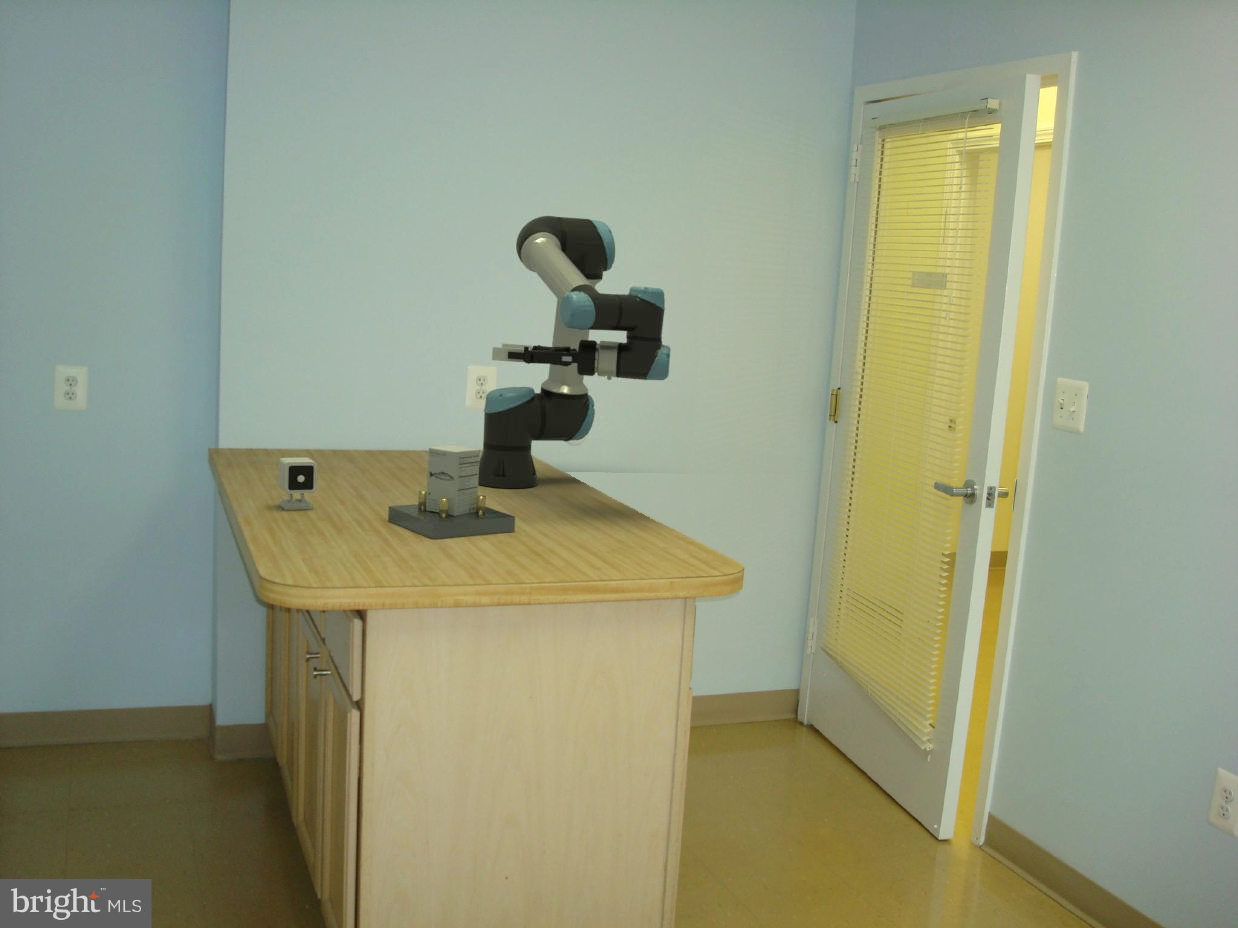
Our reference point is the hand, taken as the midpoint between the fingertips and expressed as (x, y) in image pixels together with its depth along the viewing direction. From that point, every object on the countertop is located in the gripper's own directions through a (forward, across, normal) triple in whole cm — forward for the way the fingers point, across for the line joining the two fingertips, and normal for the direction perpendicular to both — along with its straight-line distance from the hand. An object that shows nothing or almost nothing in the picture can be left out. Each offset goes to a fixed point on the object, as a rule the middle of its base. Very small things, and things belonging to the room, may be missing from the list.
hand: (497, 351), depth 245 cm
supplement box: (+4, -24, -30) cm, 39 cm away
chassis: (+4, -24, -33) cm, 41 cm away
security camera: (+37, -16, -34) cm, 53 cm away
